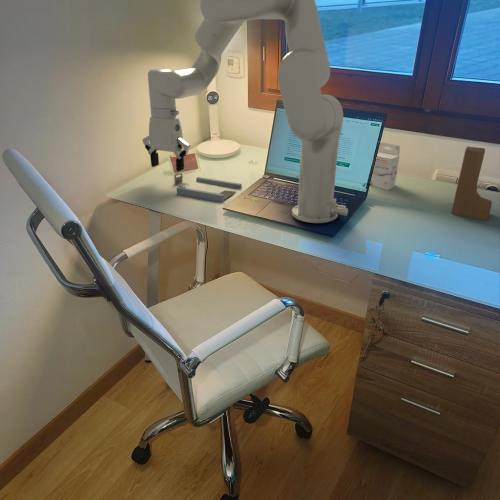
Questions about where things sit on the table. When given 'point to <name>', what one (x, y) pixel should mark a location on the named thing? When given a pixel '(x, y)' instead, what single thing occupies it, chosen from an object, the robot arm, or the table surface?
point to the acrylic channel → (210, 195)
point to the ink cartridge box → (385, 166)
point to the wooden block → (471, 187)
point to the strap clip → (179, 180)
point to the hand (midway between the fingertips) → (167, 168)
